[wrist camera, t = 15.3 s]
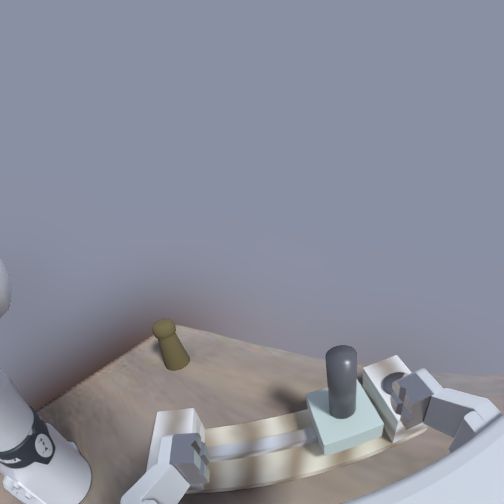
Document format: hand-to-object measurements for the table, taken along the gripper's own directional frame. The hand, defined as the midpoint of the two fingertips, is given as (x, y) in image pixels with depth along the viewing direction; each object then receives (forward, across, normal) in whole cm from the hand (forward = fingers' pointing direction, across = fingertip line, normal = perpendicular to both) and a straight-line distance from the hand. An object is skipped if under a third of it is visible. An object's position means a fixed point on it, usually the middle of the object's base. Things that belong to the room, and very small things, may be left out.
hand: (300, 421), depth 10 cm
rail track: (+17, 0, +28) cm, 33 cm away
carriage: (+17, -7, +27) cm, 32 cm away
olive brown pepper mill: (+46, +21, +28) cm, 57 cm away
